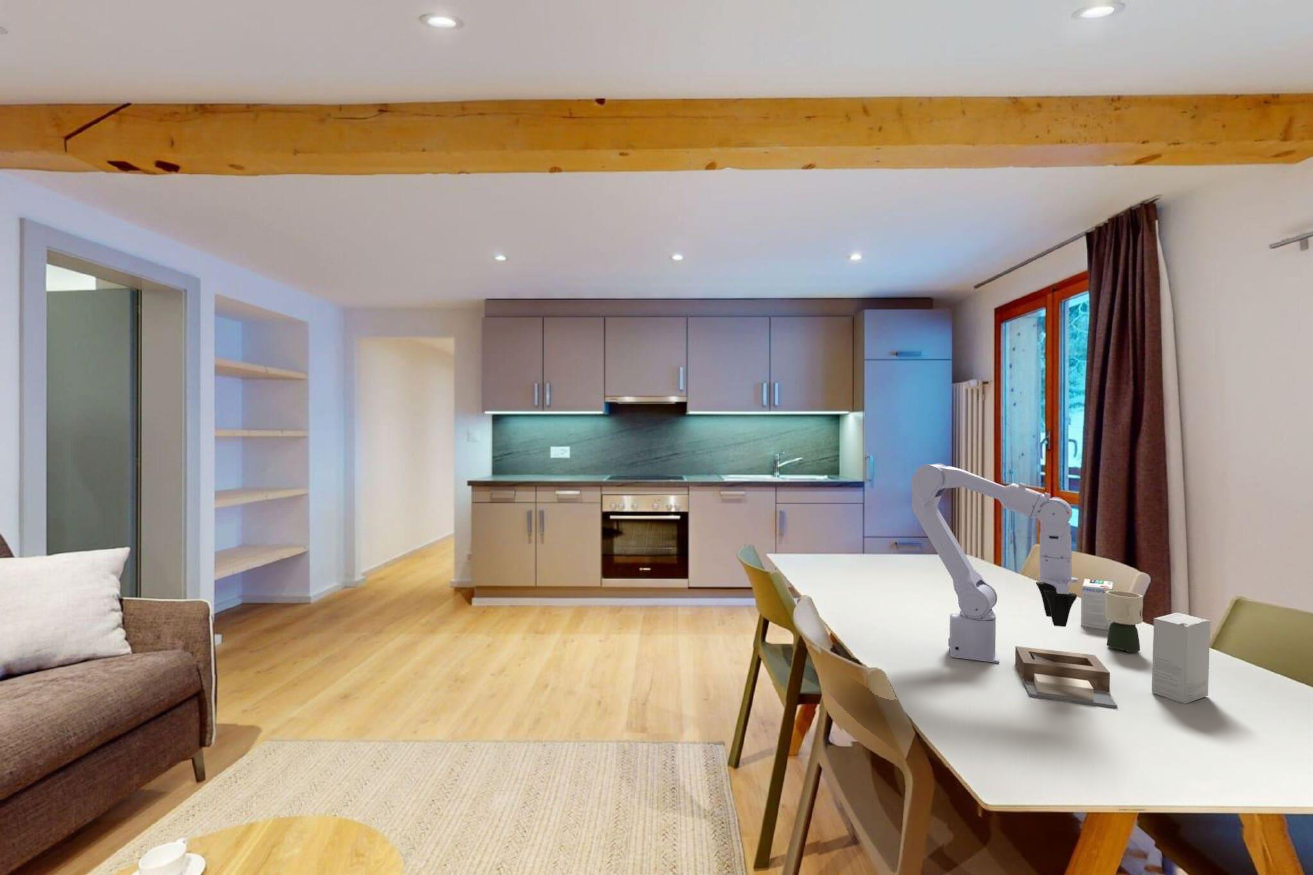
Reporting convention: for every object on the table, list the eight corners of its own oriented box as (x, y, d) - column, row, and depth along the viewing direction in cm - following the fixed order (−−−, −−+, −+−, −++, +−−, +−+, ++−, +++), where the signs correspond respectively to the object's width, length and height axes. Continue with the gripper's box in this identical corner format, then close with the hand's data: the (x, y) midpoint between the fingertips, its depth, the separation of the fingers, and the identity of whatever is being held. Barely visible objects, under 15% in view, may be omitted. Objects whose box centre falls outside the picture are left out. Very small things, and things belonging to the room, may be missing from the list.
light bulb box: (1082, 617, 180) (1083, 577, 180) (1112, 621, 176) (1113, 581, 176) (1080, 626, 171) (1080, 584, 171) (1111, 631, 167) (1112, 588, 167)
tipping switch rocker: (1080, 672, 135) (1081, 670, 135) (1086, 680, 130) (1087, 678, 130) (1031, 655, 138) (1031, 653, 138) (1035, 662, 134) (1035, 660, 134)
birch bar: (1088, 691, 126) (1088, 680, 126) (1093, 699, 122) (1093, 688, 122) (1034, 683, 129) (1034, 673, 129) (1037, 691, 125) (1037, 681, 125)
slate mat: (1029, 696, 124) (1029, 693, 124) (1023, 683, 131) (1023, 680, 131) (1117, 708, 119) (1117, 705, 119) (1106, 693, 126) (1106, 691, 126)
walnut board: (1094, 673, 137) (1094, 655, 137) (1109, 692, 126) (1109, 672, 126) (1015, 663, 142) (1015, 646, 142) (1023, 681, 132) (1023, 662, 132)
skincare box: (1174, 686, 130) (1175, 611, 130) (1210, 697, 124) (1212, 619, 124) (1149, 693, 126) (1151, 616, 126) (1186, 705, 121) (1187, 624, 121)
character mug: (1151, 659, 146) (1152, 600, 146) (1113, 655, 148) (1114, 597, 148) (1132, 644, 156) (1132, 589, 156) (1097, 641, 158) (1098, 587, 158)
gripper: (1086, 563, 130) (1086, 632, 130) (1069, 551, 143) (1069, 614, 143) (1045, 561, 132) (1045, 628, 132) (1032, 549, 146) (1033, 611, 146)
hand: (1055, 621), depth 138 cm, fingers open, 7 cm apart
